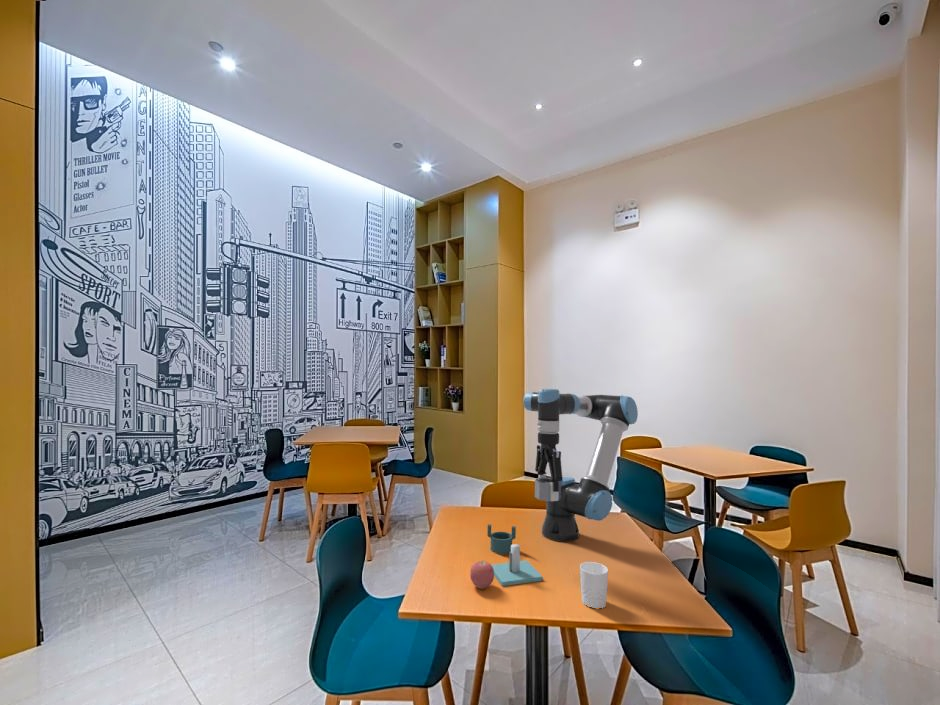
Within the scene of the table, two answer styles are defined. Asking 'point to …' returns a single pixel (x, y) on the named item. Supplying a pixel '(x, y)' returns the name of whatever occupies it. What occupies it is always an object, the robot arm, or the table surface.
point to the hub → (544, 489)
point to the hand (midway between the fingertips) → (548, 496)
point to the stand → (515, 570)
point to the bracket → (501, 540)
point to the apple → (482, 574)
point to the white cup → (594, 584)
